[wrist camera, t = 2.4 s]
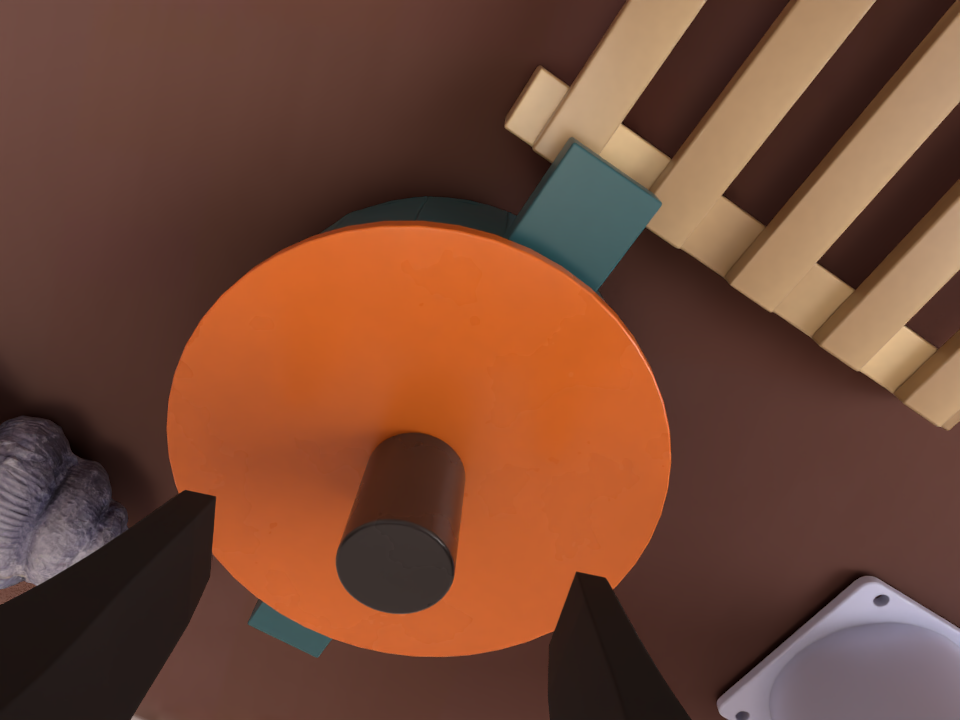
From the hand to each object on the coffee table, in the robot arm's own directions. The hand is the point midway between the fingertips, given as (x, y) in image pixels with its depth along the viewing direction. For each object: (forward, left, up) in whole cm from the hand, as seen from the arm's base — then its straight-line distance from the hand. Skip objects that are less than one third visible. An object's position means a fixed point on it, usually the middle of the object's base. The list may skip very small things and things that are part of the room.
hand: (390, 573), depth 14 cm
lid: (0, 0, -4) cm, 4 cm away
